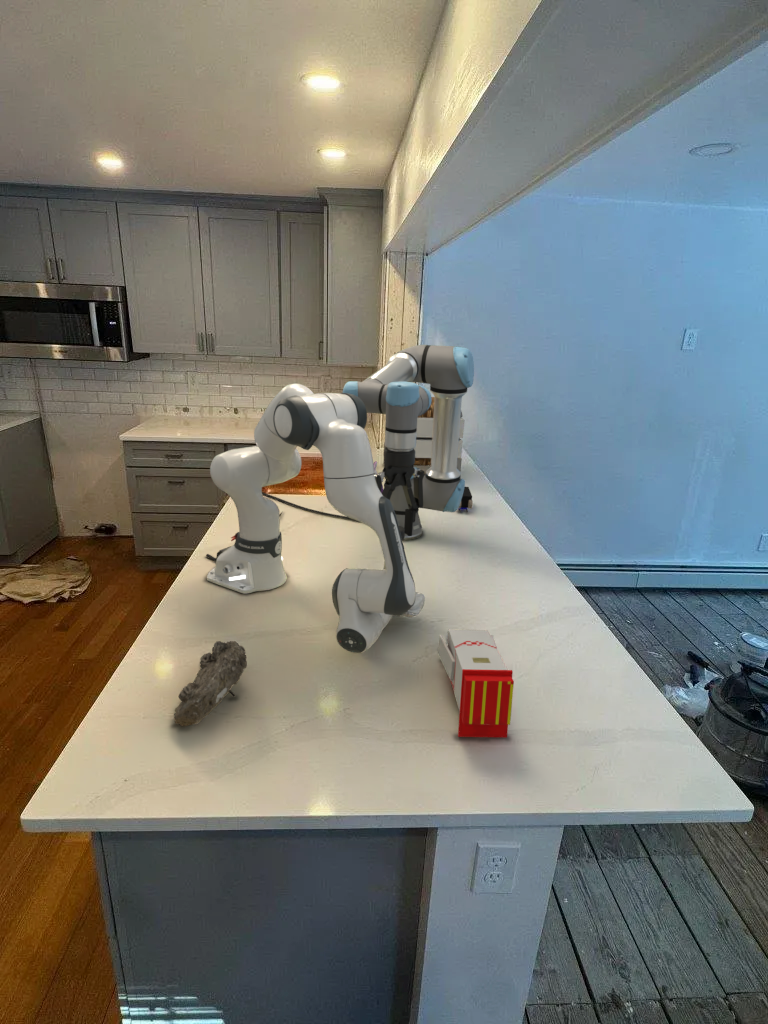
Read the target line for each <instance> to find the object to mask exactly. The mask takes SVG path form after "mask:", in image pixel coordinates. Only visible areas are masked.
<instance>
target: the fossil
mask: <svg viewBox="0 0 768 1024" xmlns="http://www.w3.org/2000/svg"><path fill="white" fill-rule="evenodd" d="M247 666H248V661H247V652H246V648H244V646H242V645H240V644H239V642H237V641H236V640H229V641H227V642H225V641H221V640H217V641H216V642H214V644H213V646H212V648H211V652H206V653H204V654H203V655H202V656H201V657H200V661H199V667H200V669H199V670H198V673H197V674H196V676H195V678H194V680H193V682H189V683H187V684H186V686H184V687H182V689H181V690H180V692H179V694H178V699H179V700H180V701H181V702H180V703H179V705H178V706H177V707H176V708H175V709H174V712H175V713H173V716H174V717H173V718H174V723H175V725H176V724H177V725H180V726H181V727H187V726H192V725H198V724H200V723H201V721H203V719H204V718H206V717H207V716H209V715H210V713H211V712H212V711H213V710H214V709H215V708H216V707H218V705H220V704H221V703H222V701H223V700H224V697H226V696H227V695H228V694H230V695H231V696H232V697H233V698H235V697H236V694H235V693H234V692H233V691H232V688H233V686H235V685H237V684H238V682H239V681H240V680H241V676H242V674H243V673H244V670H245V669H247Z"/></svg>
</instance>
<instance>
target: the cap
mask: <svg viewBox="0 0 768 1024" xmlns="http://www.w3.org/2000/svg"><path fill="white" fill-rule="evenodd" d="M399 529H400V533H401V538H402V541H404V540H403V539H404V537H405V529H404V528H403V527H401V526H399Z"/></svg>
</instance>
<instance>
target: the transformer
mask: <svg viewBox="0 0 768 1024" xmlns="http://www.w3.org/2000/svg"><path fill="white" fill-rule="evenodd" d="M434 397H435V396H431V399H432V402H431V405H430V407H429V409H428V410H427V411H426V412H425V413H424V414H423V415H421V416H418V417H417V431H416V447H415V448H414V450H415V463H414V467H417V466H418V467H431V453H432V434H433V416H434ZM464 429H465V419H464V418H463V411H461V415H460V428H459V442H458V455H457V469H458V470H459V471H460V473H461V472H462V461H463V460H462V453H463V442H464V441H463V440H462V439H463V438H464V431H465V430H464ZM385 448H386V446H385V441H384V442H383V450H384V449H385ZM383 465H384V462H383ZM461 474H462V473H461Z"/></svg>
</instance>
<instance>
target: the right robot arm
mask: <svg viewBox="0 0 768 1024" xmlns="http://www.w3.org/2000/svg"><path fill="white" fill-rule="evenodd" d="M474 377H475V361H474V356H473V353H472V351H471V350H470V349H469V348H467V347H461V346H455V345H435V344H434V345H433V344H417V345H413V346H409V347H405V348H403V349H401V350H400V351H398V352H396V353H394V354H393V355H392V356H390V357H389V359H388V361H387V363H386V364H385V365H383V366H382V367H381V368H379V369H378V370H377V371H375V372H373V373H372V374H371V375H369V376H368V377H367V378H366V379H364V380H363V381H357V380H354V381H352V380H351V381H347V382H346V383H345V384H344V386H343V389H342V393H349V394H353V395H355V396H357V397H359V398H360V399H361V400H362V401H363V403H364V405H365V407H366V411H367V414H377V415H379V414H380V415H385V423H384V424H385V425H384V426H385V427H384V442H385V446H386V448H385V449H384V448H383V463H384V464H383V469H382V471H381V472H377V474H376V473H374V474H375V480H376V483H377V486H378V488H379V490H380V492H381V489H382V485H383V492H382V495H383V496H384V497H386V498H387V499H389V500H390V501H391V503H392V506H393V508H394V511H395V514H396V518H397V522H398V525H399V526H401V527H403V528H404V529H405V537H404V539H403V540H402V541H410V540H415V539H418V538H420V537H421V536H422V535H423V525H422V524H421V518H420V515H419V509H425V510H432V511H437V512H443V513H444V512H447V513H455V512H457V511H458V510H459V508H458V507H459V505H460V502H461V499H462V496H463V492H464V487H466V480H465V479H464V478H461V475H462V473H460V471H459V470H458V469H457V455H458V442H459V428H460V415H461V412H462V403H463V402H462V401H463V400H462V399H463V397H464V396H465V395H466V394H467V393H468V388H471V387H473V384H474ZM417 383H418V384H417ZM420 384H425V385H426V384H427V385H429V389H428V388H426V387H425V386H424V385H420ZM432 395H433V397H434V416H433V434H432V453H431V465H430V466H429V468H427V469H426V471H424V470H423V469H421V468H419V467H417V466H414V463H415V450H414V448H415V447H416V431H417V417H418V416H421V415H423V414H424V413H425V412H426V411H427V410H428V409H429V407H430V405H431V402H432V399H431V397H432ZM384 479H385V481H384ZM383 482H384V483H383ZM262 495H263V496H264V497H265V496H266V497H267V498H270V499H274V500H276V501H279V502H282V503H284V504H286V505H288V506H289V505H290V506H292V507H295V508H298V509H301V510H304V511H307V512H311V513H315V514H318V515H324V516H328V517H334V518H338V519H339V518H340V519H343V520H348V521H349V520H350V521H354V522H358V523H359V522H360V521H357V520H354V519H352V518H349V517H347V516H344V515H339V514H334V513H329V512H324V511H321V510H315V509H312V508H308V507H305V506H301V505H298V504H295V503H294V502H293V503H292V502H290V501H287V500H284V499H281V498H280V497H277V496H274V495H271V494H269V493H267V492H263V491H262ZM360 523H361V522H360Z"/></svg>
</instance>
